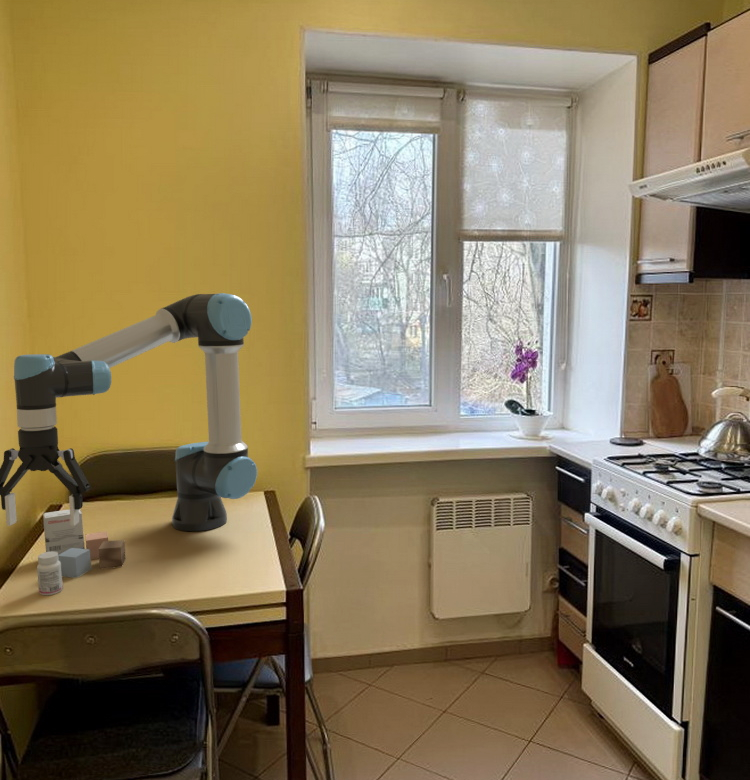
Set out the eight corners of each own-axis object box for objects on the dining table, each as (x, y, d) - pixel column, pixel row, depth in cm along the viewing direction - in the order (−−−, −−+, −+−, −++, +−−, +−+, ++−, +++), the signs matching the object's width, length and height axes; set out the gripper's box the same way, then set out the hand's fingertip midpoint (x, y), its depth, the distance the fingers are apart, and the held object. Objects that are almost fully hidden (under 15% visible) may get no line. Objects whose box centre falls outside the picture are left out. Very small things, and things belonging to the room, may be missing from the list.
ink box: (83, 551, 170) (80, 507, 168) (85, 558, 165) (82, 512, 164) (46, 557, 166) (42, 512, 164) (47, 564, 161) (43, 518, 160)
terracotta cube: (107, 549, 171) (106, 531, 170) (109, 556, 167) (108, 537, 166) (86, 553, 169) (85, 534, 168) (87, 560, 164) (86, 540, 164)
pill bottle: (44, 587, 149) (41, 550, 148) (66, 586, 149) (63, 550, 148) (35, 596, 144) (32, 559, 143) (58, 595, 145) (55, 558, 144)
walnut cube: (125, 559, 165) (124, 539, 164) (122, 567, 160) (120, 547, 159) (104, 560, 164) (102, 541, 163) (99, 569, 159) (98, 548, 158)
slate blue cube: (91, 569, 159) (89, 549, 158) (77, 578, 154) (75, 557, 153) (73, 567, 160) (71, 547, 159) (58, 576, 155) (57, 555, 154)
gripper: (103, 424, 146) (107, 518, 148) (-12, 424, 145) (-6, 518, 148) (89, 430, 138) (94, 529, 141) (-32, 430, 138) (-25, 529, 140)
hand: (43, 524), depth 144 cm, fingers open, 13 cm apart
